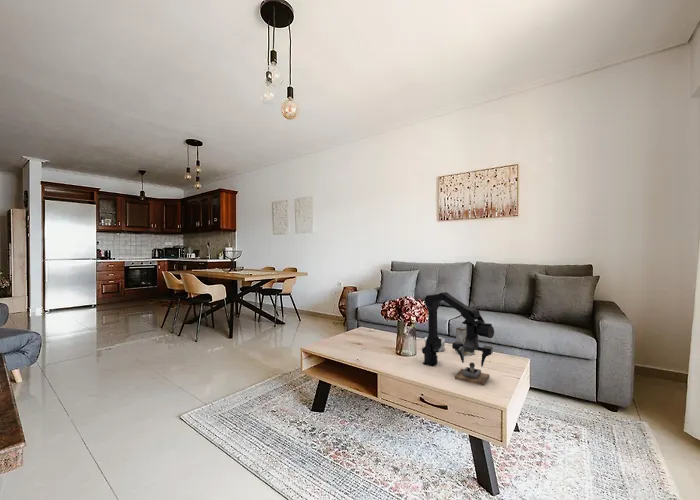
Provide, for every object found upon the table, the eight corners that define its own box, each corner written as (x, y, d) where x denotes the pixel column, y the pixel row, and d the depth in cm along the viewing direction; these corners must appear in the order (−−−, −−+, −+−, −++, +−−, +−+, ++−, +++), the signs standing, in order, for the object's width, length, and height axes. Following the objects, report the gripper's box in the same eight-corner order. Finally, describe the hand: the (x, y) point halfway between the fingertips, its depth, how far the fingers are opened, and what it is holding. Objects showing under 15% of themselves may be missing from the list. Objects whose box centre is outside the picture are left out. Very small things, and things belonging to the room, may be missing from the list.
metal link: (463, 375, 161) (463, 371, 161) (466, 371, 167) (466, 366, 167) (477, 379, 157) (477, 374, 157) (480, 374, 163) (480, 369, 163)
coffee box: (467, 351, 203) (467, 326, 203) (474, 354, 198) (474, 328, 198) (456, 353, 200) (455, 328, 200) (463, 356, 194) (463, 330, 194)
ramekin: (441, 354, 199) (441, 343, 199) (421, 350, 206) (421, 340, 206) (447, 348, 210) (447, 338, 210) (428, 345, 217) (428, 335, 217)
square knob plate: (454, 379, 161) (454, 363, 161) (461, 371, 171) (461, 356, 171) (484, 385, 153) (484, 369, 153) (489, 377, 163) (489, 361, 163)
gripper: (448, 334, 160) (448, 365, 160) (488, 340, 150) (488, 373, 150) (455, 330, 169) (455, 359, 169) (493, 335, 159) (493, 366, 159)
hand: (472, 364), depth 162 cm, fingers open, 9 cm apart
